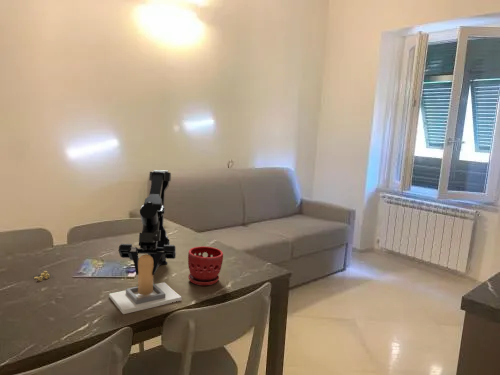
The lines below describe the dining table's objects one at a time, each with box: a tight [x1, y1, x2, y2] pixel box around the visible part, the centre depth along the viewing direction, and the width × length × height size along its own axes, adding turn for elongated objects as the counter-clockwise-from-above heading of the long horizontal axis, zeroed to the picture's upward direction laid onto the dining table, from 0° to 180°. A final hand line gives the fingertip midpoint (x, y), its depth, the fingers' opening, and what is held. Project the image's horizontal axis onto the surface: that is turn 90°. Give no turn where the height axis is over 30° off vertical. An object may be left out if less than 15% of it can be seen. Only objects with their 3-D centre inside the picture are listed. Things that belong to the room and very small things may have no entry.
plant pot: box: [187, 246, 224, 287], centre depth 155 cm, size 13×13×12 cm
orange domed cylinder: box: [137, 254, 154, 295], centre depth 137 cm, size 5×5×13 cm
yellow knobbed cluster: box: [34, 270, 50, 282], centre depth 151 cm, size 5×5×2 cm
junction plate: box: [108, 282, 182, 315], centre depth 139 cm, size 20×14×3 cm
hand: (145, 274), depth 136 cm, fingers closed on orange domed cylinder, 5 cm apart
